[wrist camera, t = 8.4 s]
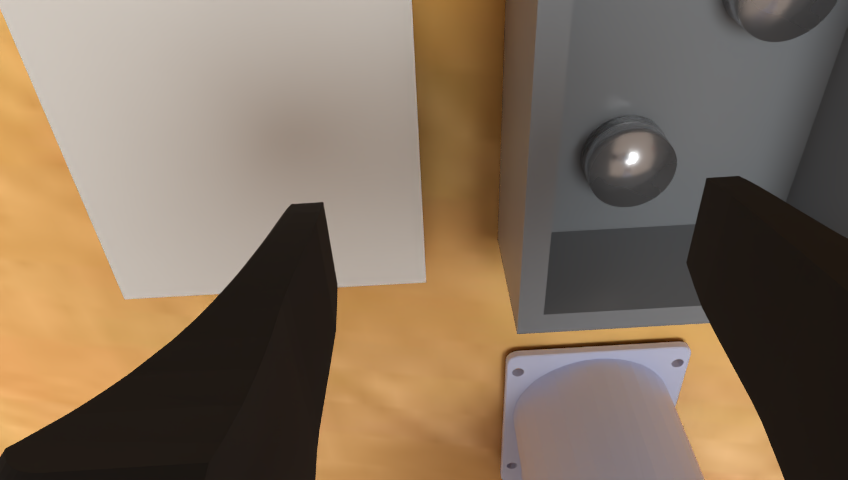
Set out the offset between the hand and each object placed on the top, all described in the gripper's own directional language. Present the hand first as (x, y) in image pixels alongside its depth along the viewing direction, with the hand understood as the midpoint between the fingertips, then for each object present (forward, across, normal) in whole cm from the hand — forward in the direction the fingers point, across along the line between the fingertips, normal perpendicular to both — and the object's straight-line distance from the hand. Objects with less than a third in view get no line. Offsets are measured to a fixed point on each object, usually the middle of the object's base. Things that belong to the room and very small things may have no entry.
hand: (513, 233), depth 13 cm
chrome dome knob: (+9, -5, +4) cm, 11 cm away
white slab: (+10, +7, 0) cm, 13 cm away
